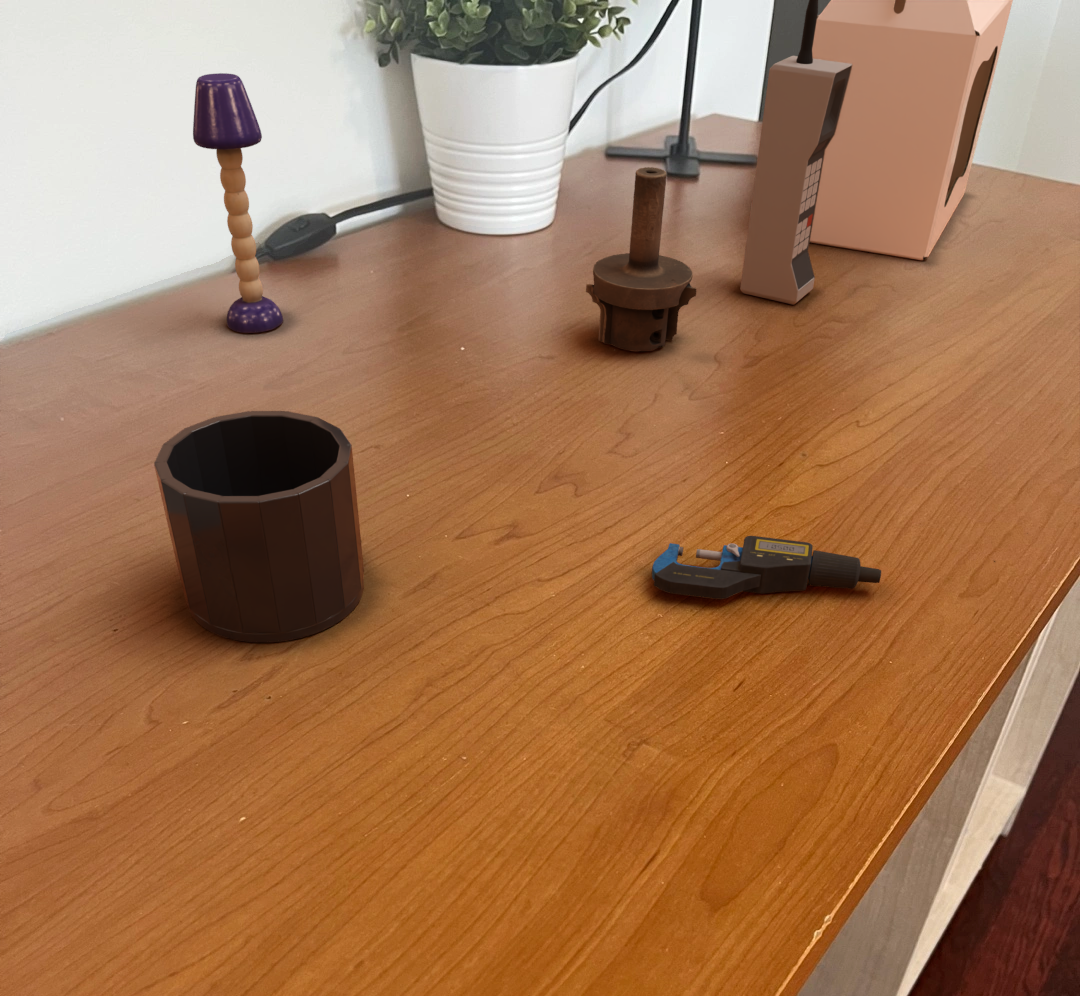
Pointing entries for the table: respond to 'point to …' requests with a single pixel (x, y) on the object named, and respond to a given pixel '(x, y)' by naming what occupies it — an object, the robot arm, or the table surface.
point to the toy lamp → (235, 189)
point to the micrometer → (759, 569)
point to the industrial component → (641, 277)
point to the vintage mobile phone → (791, 169)
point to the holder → (263, 524)
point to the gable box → (903, 117)
